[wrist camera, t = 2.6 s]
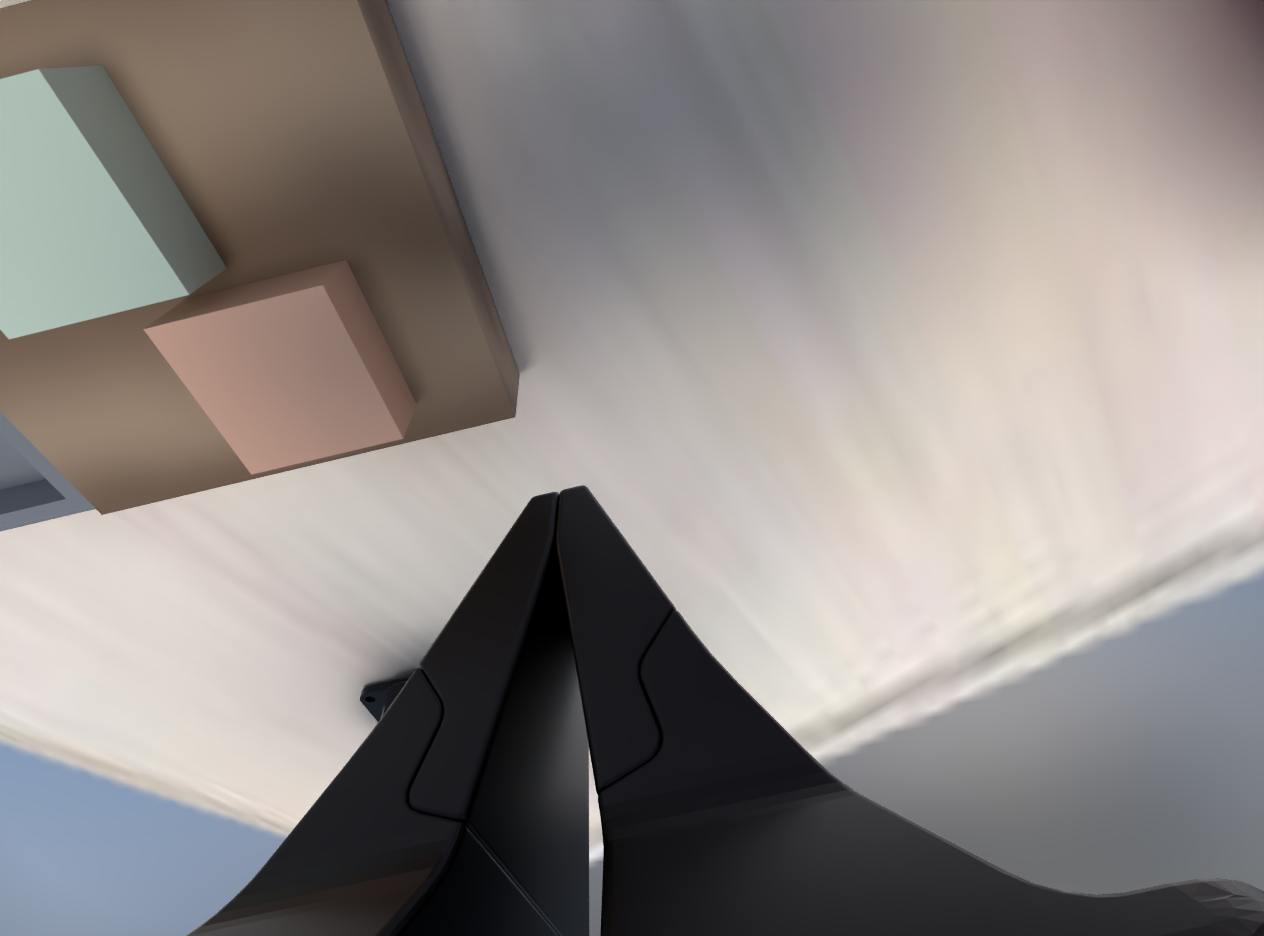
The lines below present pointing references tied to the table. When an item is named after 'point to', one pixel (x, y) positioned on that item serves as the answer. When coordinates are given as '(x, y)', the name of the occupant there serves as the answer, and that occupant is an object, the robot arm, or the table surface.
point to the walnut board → (257, 225)
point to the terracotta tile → (288, 367)
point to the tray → (31, 483)
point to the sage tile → (86, 207)
